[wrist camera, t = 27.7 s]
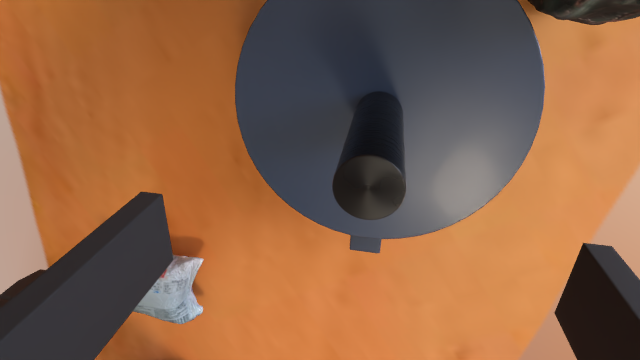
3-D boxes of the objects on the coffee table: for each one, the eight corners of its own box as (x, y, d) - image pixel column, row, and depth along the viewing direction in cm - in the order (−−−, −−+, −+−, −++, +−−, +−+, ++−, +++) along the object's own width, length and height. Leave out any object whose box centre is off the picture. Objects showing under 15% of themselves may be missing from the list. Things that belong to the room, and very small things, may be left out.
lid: (248, 214, 31) (181, 321, 22) (231, -63, 23) (104, -96, 13) (496, 245, 29) (547, 382, 19) (584, -56, 20) (764, -91, 10)
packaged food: (108, 223, 43) (76, 251, 39) (210, 247, 42) (189, 279, 38) (116, 281, 47) (88, 312, 43) (209, 304, 47) (190, 338, 42)
